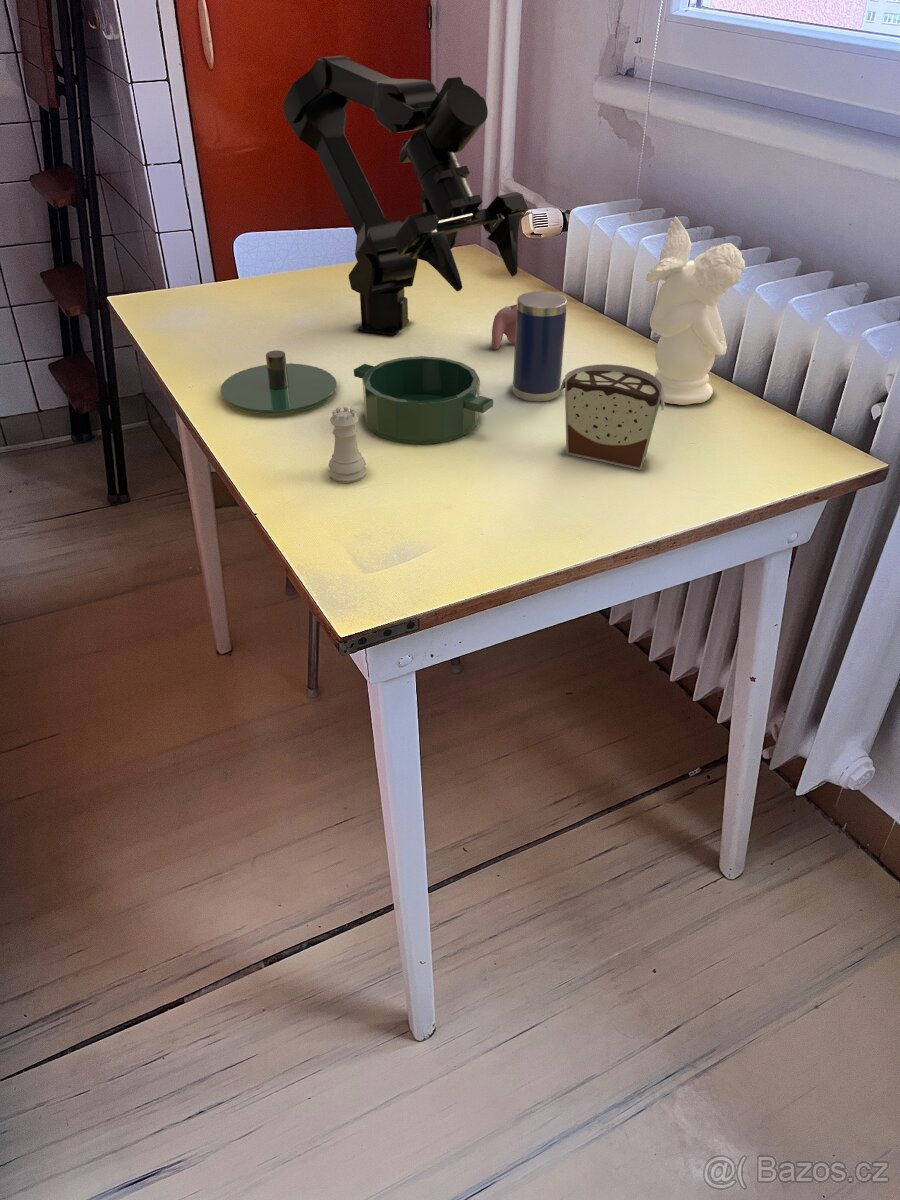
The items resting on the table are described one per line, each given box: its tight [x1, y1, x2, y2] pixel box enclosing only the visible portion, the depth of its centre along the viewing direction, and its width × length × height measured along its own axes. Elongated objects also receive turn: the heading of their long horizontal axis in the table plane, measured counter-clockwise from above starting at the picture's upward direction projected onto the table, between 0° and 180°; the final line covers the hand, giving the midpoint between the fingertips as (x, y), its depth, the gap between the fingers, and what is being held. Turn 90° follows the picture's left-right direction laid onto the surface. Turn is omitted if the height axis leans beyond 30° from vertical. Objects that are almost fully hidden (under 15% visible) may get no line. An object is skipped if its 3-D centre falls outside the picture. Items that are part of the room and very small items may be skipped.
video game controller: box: [491, 304, 517, 351], centre depth 141 cm, size 10×5×7 cm, turn 84°
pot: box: [353, 355, 494, 445], centre depth 120 cm, size 15×20×6 cm
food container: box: [560, 363, 666, 471], centre depth 111 cm, size 12×6×10 cm, turn 65°
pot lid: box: [220, 349, 338, 415], centre depth 126 cm, size 16×16×6 cm
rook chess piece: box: [328, 406, 368, 484], centre depth 107 cm, size 4×4×8 cm
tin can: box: [512, 291, 568, 403], centre depth 125 cm, size 6×6×13 cm
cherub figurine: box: [645, 215, 746, 406], centre depth 121 cm, size 12×12×22 cm
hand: (487, 282), depth 124 cm, fingers open, 9 cm apart
